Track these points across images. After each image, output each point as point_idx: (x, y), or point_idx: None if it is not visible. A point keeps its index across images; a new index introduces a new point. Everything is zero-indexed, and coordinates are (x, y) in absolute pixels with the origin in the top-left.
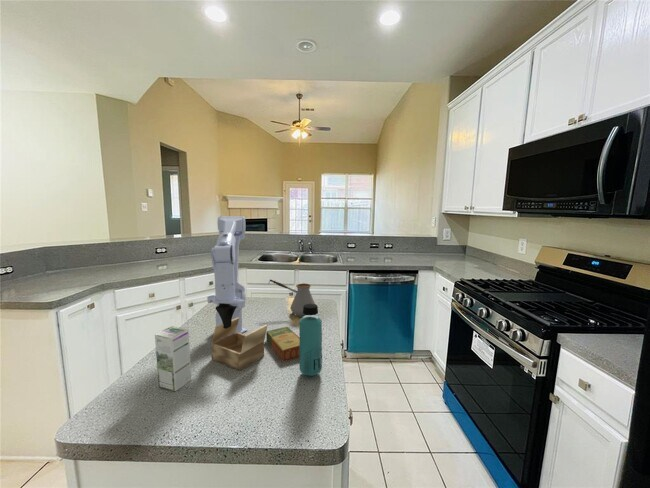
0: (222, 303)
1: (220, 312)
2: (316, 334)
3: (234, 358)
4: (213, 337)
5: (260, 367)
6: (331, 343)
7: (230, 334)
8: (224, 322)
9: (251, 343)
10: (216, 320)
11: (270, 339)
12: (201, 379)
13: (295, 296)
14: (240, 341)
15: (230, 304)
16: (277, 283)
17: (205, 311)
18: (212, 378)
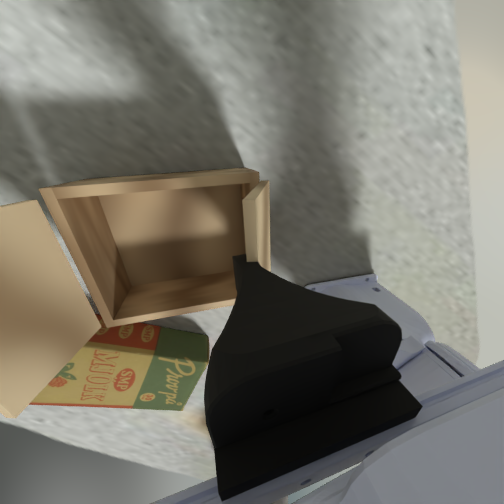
0: (369, 432)
1: (290, 307)
2: None
3: (97, 181)
4: (259, 184)
5: (59, 239)
6: (54, 428)
7: (319, 292)
8: (241, 271)
9: (26, 269)
10: (399, 301)
11: (167, 346)
12: (137, 30)
13: (279, 500)
14: (232, 281)
15: (214, 501)
16: None
17: (471, 317)
18: (109, 68)
